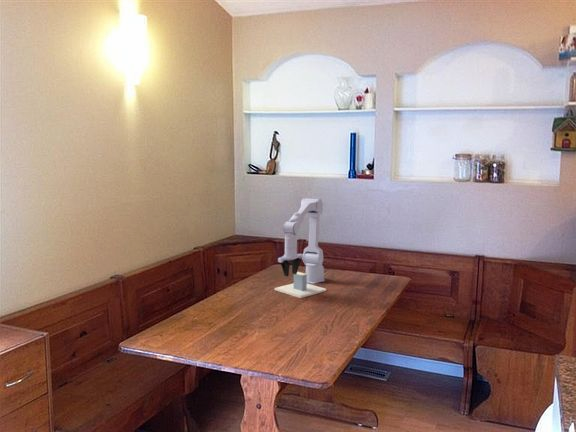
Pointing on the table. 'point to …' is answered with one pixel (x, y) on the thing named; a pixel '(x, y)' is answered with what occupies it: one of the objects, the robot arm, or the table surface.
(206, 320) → the table surface
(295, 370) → the table surface
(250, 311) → the table surface
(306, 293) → the tile
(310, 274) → the robot arm
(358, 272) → the table surface
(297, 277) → the block
